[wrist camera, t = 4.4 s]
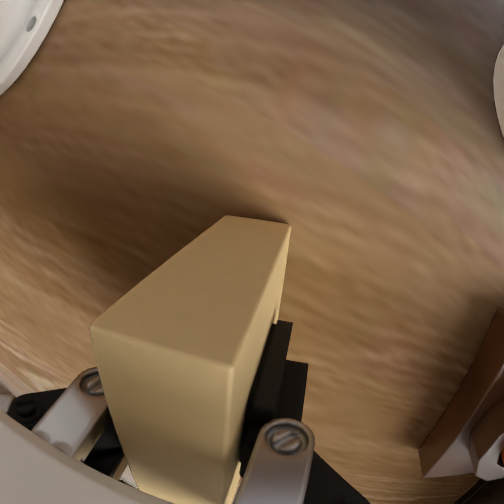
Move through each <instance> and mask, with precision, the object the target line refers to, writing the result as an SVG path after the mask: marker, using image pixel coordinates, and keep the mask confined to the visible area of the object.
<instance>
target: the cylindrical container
mask: <svg viewBox="0 0 504 504" xmlns="http://www.w3.org/2000/svg"><path fill="white" fill-rule="evenodd" d="M493 85H494V100H495V106H496V112H497V117H498V121H499V124H500V127H501V131H502V134H503V137H504V45H503V46H502V48H501V50H500V51H499V53H498V56H497V60H496V63H495V69H494V77H493Z"/></svg>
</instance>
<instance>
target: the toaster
mask: <svg viewBox="0 0 504 504" xmlns="http://www.w3.org/2000/svg"><path fill="white" fill-rule="evenodd" d="M455 504H504V478H500V479H496V480H491V481H486V480H483V479H481V480H480V481H478V482H477V483H476V484H475V485H474V486H473V487H472V488H471V489H470V490H469V491H468V492H467V493H466V494H465V495H464V496H463V497H461V498H460V499H459V500H458V501H457V502H456V503H455Z"/></svg>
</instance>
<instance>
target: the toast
mask: <svg viewBox="0 0 504 504" xmlns="http://www.w3.org/2000/svg"><path fill="white" fill-rule="evenodd" d="M290 233H291V225H289V224H284V223H278V222H271V221H264V220H258V219H251V218H244V217H237V216H230V215H226V216H224V217H223V218H222V219H220V220H219V221H218V222H216V223H215V224H214V225H212V226H211V227H210V228H208V229H207V230H206V231H204V232H203V233H202V234H201V235H199V236H198V237H197V238H195V239H194V240H193V241H191V242H190V243H189V244H188V245H186V246H185V247H184V248H182V249H181V250H180V251H179V252H177V253H176V254H175V255H173V256H172V257H171V258H170V259H168V260H167V261H166V262H165V263H163V264H162V265H161V266H160V267H158V268H157V269H156V270H155V271H153V272H152V273H151V274H150V275H148V276H147V277H146V278H145V279H143V280H142V281H141V282H140V283H138V284H137V285H136V286H135V287H133V288H132V289H131V290H130V291H129V292H127V293H126V294H125V295H124V296H122V297H121V298H120V299H119V300H118V301H116V302H115V303H114V304H113V305H112V306H110V307H109V308H108V309H107V310H106V311H104V312H103V313H102V314H101V315H100V316H98V317H97V318H96V319H95V320H94V321H93V322H91V324H90V326H89V331H90V336H91V341H92V345H93V350H94V354H95V359H96V363H97V367H98V371H99V375H100V379H101V383H102V386H103V390H104V394H105V397H106V401H107V404H108V407H109V411H110V414H111V417H112V420H113V423H114V426H115V429H116V432H117V435H118V438H119V441H120V444H121V447H122V449H123V452H124V455H125V457H126V460H127V462H128V465H129V468H130V470H131V472H132V475H133V477H134V480H135V482H136V484H137V487H138V489H139V490H140V491H143V492H145V493H148V494H150V495H153V496H155V497H158V498H161V499H163V500H166V501H169V502H172V503H175V504H231V503H232V500H233V497H234V494H235V491H236V488H237V485H238V482H239V478H240V474H239V471H240V465H241V462H239V455H240V448H241V441H242V434H243V426H244V419H245V411H246V405H247V401H248V397H249V394H250V391H251V388H252V385H253V382H254V379H255V375H256V372H257V369H258V366H259V363H260V360H261V357H262V354H263V350H264V347H265V344H266V341H267V338H268V334H269V331H270V328H271V325H272V323H274V324H276V322H277V320H278V314H279V308H280V301H281V295H282V288H283V282H284V275H285V268H286V261H287V254H288V247H289V240H290Z"/></svg>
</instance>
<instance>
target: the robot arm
mask: <svg viewBox="0 0 504 504" xmlns="http://www.w3.org/2000/svg"><path fill="white" fill-rule="evenodd" d="M63 1H64V0H0V95H1V94H3V93H4V92H5V91H6V90H7V89H8V88H9V87H10V86H11V85H12V84H13V83H14V82H15V80H16V79H17V78H18V77H19V76H20V74H21V73H22V72H23V71H24V70H25V68H26V67H27V65H28V64H29V62H30V61H31V59H32V58H33V56H34V55H35V54H36V52H37V50H38V49H39V47H40V45H41V44H42V42H43V40H44V39H45V37H46V35H47V34H48V32H49V30H50V28H51V26H52V24H53V22H54V20H55V18H56V17H57V15H58V12H59V10H60V8H61V6H62V3H63ZM292 325H293V323H292V322H287V321H281V320H277V322H276V324H274V323H272V325H271V328H270V331H269V334H268V338H267V341H266V344H265V347H264V350H263V354H262V357H261V360H260V363H259V366H258V369H257V372H256V375H255V379H254V382H253V385H252V388H251V391H250V394H249V397H248V401H247V405H246V411H245V419H244V426H243V434H242V441H241V448H240V455H239V462H241V465H240V471H239V474H240V476H241V477H242V481H241V484H240V486H239V489H238V491H237V494H236V496H235V499H234V502H233V504H370V503H369V502H368V500H367V499H366V498H365V497H363V496H362V495H361V494H360V493H359V492H358V491H357V490H356V489H354V488H353V487H352V486H351V485H350V484H349V483H348V482H347V481H345V480H344V479H343V478H342V477H341V476H340V475H339V474H338V473H337V472H336V471H335V470H334V469H332V468H331V467H330V466H329V465H328V464H327V463H326V462H325V461H324V460H323V459H322V458H321V457H320V456H319V455H318V454H317V453H316V452H315V451H314V446H315V437H314V434H313V432H312V430H311V429H310V428H309V427H308V426H307V425H305V424H304V423H302V422H301V419H302V412H303V404H304V397H305V389H306V380H307V372H308V363H302V362H296V361H290V360H286V356H287V351H288V346H289V341H290V336H291V331H292ZM127 464H128V462H127V460H126V457H125V455H124V452H123V449H122V447H121V444H120V441H119V438H118V435H117V432H116V429H115V426H114V423H113V420H112V417H111V414H110V411H109V407H108V404H107V401H106V397H105V394H104V390H103V386H102V383H101V379H100V375H99V371H98V367H94V368H89V369H87V370H85V371H83V372H82V373H80V374H79V375H78V376H77V377H76V378H75V380H74V381H73V382H72V383H71V384H70V385H69V387H68V388H63V389H57V390H50V391H44V392H37V393H29V394H24V395H21V396H19V397H17V398H15V397H14V396H13V395H7V394H2V393H0V504H175V503H172V502H169V501H166V500H163V499H161V498H158V497H155V496H153V495H150V494H148V493H145V492H143V491H140V490H138V489H135V488H133V487H131V486H128V485H126V484H124V483H122V482H119V479H120V478H121V476H122V474H123V472H124V470H125V468H126V466H127Z"/></svg>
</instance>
